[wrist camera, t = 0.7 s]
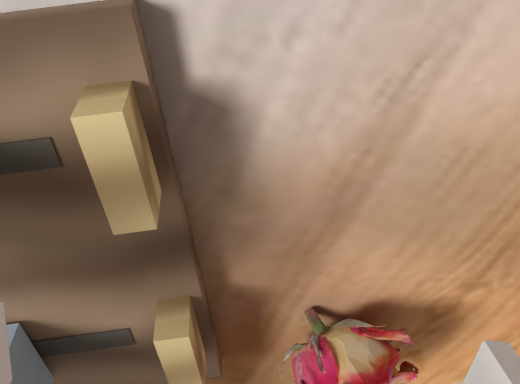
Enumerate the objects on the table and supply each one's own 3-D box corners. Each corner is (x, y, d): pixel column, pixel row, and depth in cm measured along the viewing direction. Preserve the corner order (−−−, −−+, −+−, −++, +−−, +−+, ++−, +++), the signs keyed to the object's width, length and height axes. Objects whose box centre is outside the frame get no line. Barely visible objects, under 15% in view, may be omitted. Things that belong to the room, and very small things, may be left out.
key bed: (-277, 46, 19) (-387, 92, 16) (134, -4, 20) (119, 30, 16) (-7, 391, 35) (-31, 453, 31) (221, 359, 35) (223, 417, 32)
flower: (230, 354, 32) (288, 472, 30) (309, 294, 27) (390, 433, 24) (317, 313, 39) (371, 406, 36) (395, 259, 33) (466, 363, 31)
